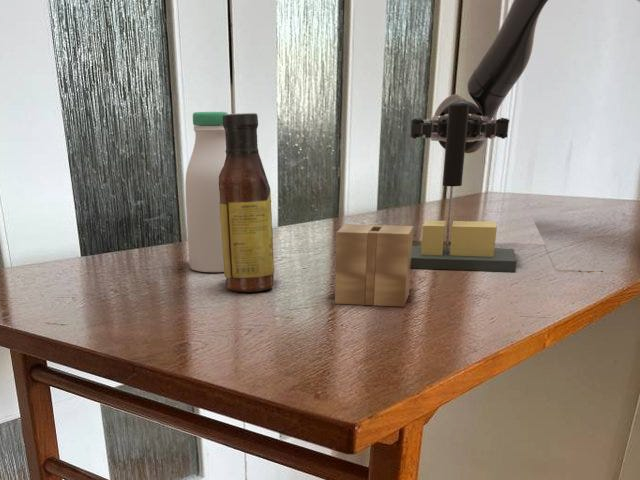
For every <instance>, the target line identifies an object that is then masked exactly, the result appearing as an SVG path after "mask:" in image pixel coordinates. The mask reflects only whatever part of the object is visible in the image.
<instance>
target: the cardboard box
mask: <svg viewBox="0 0 640 480" xmlns="http://www.w3.org/2000/svg"><path fill="white" fill-rule="evenodd" d="M335 233H336V234H335V235H336V237H335V238H336V240H335V279H334V280H335V281H334V304H335V305H336V304H337V305H355V306H356V305H357V306H375V307H399V308H405V306H406V303H407V301H408V298H409V296H410V281H411V270H412V268H411V254H412V246H413V238H414V237H413V236H414V226H413V225H389V224H387V225H386V224H384V225H383V224H344V225H343V226H341V228H340V229H338V230H337V231H336V232H335Z"/></svg>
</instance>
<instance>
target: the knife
mask: <svg viewBox="0 0 640 480" xmlns="http://www.w3.org/2000/svg"><path fill="white" fill-rule="evenodd" d="M468 111H469V105H449V112H448V124H447V137H446V149H444V151H445V152H444V164H443V174H442V175H443V176H442V187H449V200H448V201H449V202H448V214H447V222H446V234H445V246H444V247H445V254H447V252H448V247H449V240H450V229H451V217H452V207H453V204H452V203H453V194H454V187H462V185H463V176H464V164H465V144H466V133H467V122H468Z"/></svg>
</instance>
